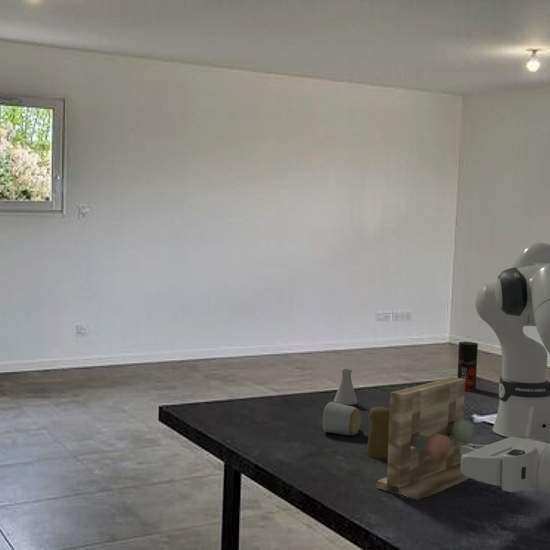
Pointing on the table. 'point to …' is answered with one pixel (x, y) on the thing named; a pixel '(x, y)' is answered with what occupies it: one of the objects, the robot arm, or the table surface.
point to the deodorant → (468, 364)
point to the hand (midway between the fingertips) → (463, 448)
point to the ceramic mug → (341, 419)
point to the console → (423, 421)
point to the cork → (378, 433)
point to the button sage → (461, 430)
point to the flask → (346, 390)
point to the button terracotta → (432, 444)
